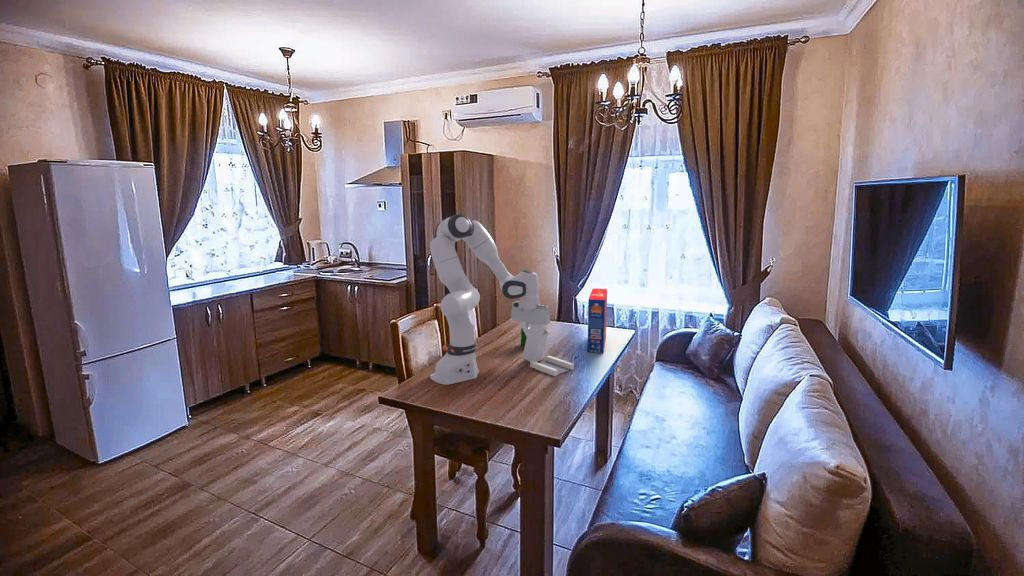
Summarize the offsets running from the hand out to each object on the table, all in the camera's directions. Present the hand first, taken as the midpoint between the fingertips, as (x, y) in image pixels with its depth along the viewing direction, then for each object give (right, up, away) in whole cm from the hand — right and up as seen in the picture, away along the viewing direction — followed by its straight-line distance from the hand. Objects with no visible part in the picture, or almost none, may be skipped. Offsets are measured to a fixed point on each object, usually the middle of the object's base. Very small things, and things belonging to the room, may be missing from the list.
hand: (530, 331), depth 234 cm
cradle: (+10, -16, -8) cm, 21 cm away
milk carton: (+1, -14, +1) cm, 14 cm away
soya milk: (0, -10, +25) cm, 27 cm away
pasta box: (+37, -10, +25) cm, 46 cm away
